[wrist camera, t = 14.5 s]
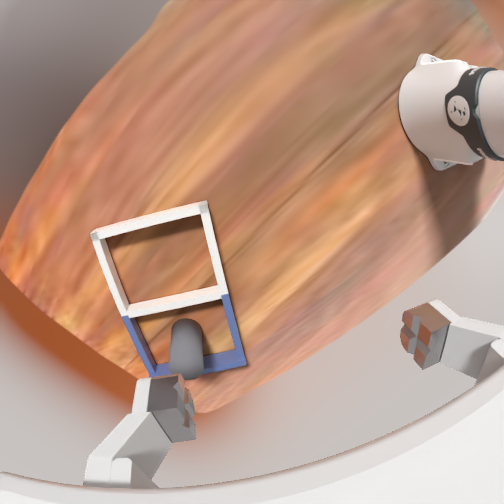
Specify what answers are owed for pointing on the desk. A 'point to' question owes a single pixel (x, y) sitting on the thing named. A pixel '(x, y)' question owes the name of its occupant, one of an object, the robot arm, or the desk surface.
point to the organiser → (175, 301)
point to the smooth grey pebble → (186, 349)
